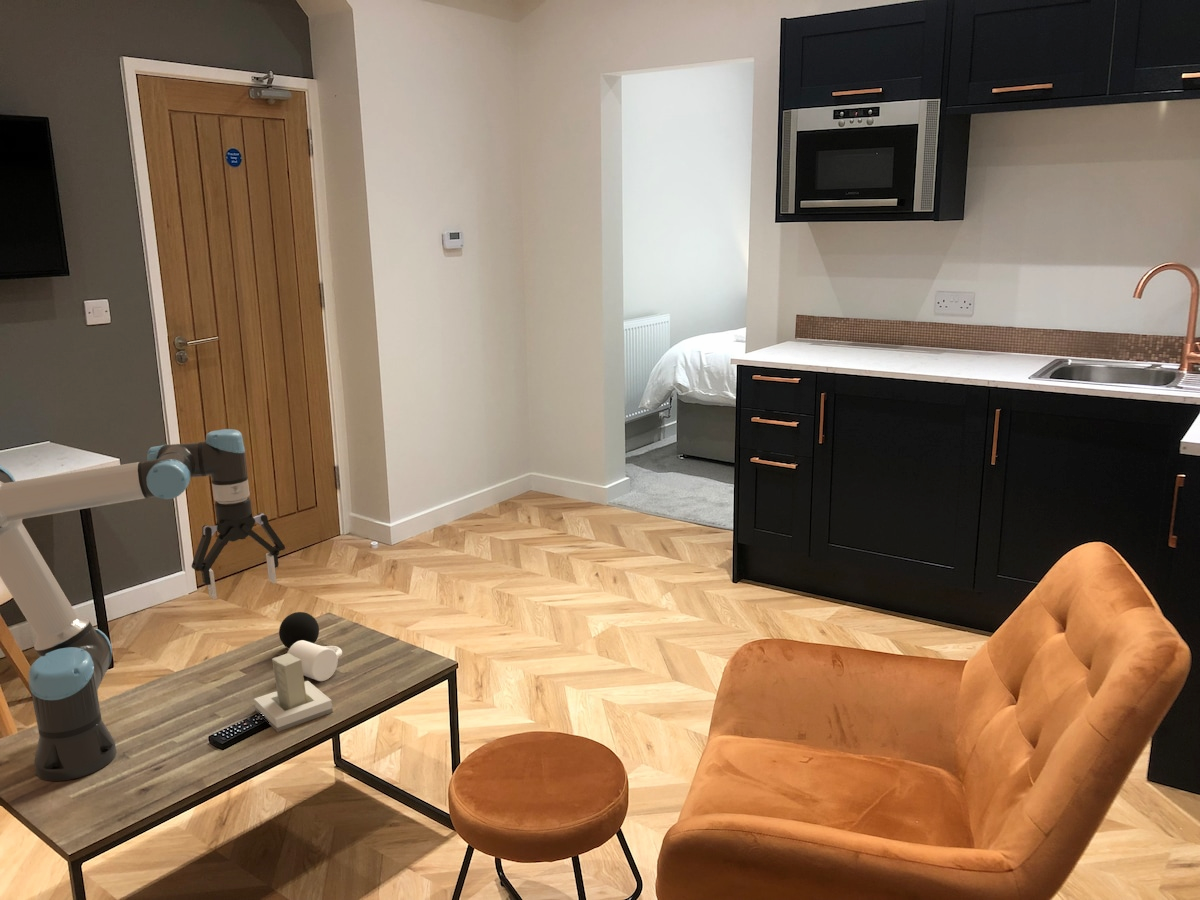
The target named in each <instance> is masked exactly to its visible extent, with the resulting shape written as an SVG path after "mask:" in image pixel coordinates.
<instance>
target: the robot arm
mask: <svg viewBox="0 0 1200 900" xmlns="http://www.w3.org/2000/svg"><path fill="white" fill-rule="evenodd" d="M245 448H246V447H245V445H244V439H243V434H242V432H241V431H239V430H238V429H234V428H233V429H231V428H224V429H218V430H212V431H210V432H207V433H206V435H205V440H204V441H202V442H201V441H199V442H189V443H188V442H187V443H174V444H173V443H172V444H168V443H167V444H162V445H158V446H157V445H156V446H151V447H150V448H149V449H148V450H147V455H146V458H147V459H146V460H144V461H137V462H130V463H125V464H124V463H123V464H117V465H113V466H105V467H99V468H93V469H87V470H86V469H85V470H79V471H73V472H68V473H61V474H54V475H47V476H41V477H35V478H34V477H33V478H30V479H22V480H17V481H16V479H15V477H14V475H13V474H12V473H11V472H10V471H9V470H8V469H7V468H5V466H2V465H0V579H1V580H2V582H3V584H4V586H6V588H7V589H8V592H9V593H10V595H11V597H12V598H13V600H14V601H15V604H16V605H17V606H18V608H19V610H20V611H21V613H22V614H23V617H25V620H26V621H27V623H28V624H29V626H30V628H31V629H32V631H33V632H34V634H35V636H36V641H35V643H34V646H33V648H34V650H35V651H36V653H37V654H38V656H39V657H38V658H36V660H35V661H34V662H33V663H32V664H31V666H30V667H29V670H28V687H29V690H30V693H31V698H32V699H31V700H32V703H33V709H34V714H35V719H36V720H35V721H36V724H37V730H38V735H39V736H38V742H37V746H36V751H35V757H34V769H35V774H36V776H37V777H39V779H42V780H45V781H49V782H60V781H61V782H62V781H69V780H73V779H74V780H75V779H80V778H82V777H86V776H88V775H91V774H93V773H95V772H97V771H99V770H101V769H102V768H104V767H106V766H107V765H109V763H111V762H112V761H113V760H114V759H115V757H116V755H117V747H116V746H117V745H116V741H115V738H114V737H113V735H112V733H110V731H109V729H108V727H107V726H106V724H105V723H104V721H103V719H102V713H101V707H100V701H99V700H100V699H99V694H98V693H99V692H98V690H99V687H100V685H101V684H102V681H103V679H104V677H105V676H106V673H107V671H108V670H109V668H110V666H111V662H112V655H113V650H112V649H113V648H112V647H113V646H112V644H111V642H110V639H109V637H108V636H107V635H106V634H105V633H104V632H103V631H102V630H100V629H98V628H95V627H94V626H93V624H92V623H91V621H90V620H89V618H87V617H83V616H78V614H77V613H76V611H75V609H74V608H73V606H72V604H71V603H70V600H68V597H67V595H65V593H64V591H63V589H62V588H61V586H60V584H59V582H58V581H57V579H56V577H55V576H54V575H53V572H52V570H51V569H50V566H48V564H47V562H46V560H45V559H44V557H43V555H42V554H41V552H40V551H39V549H38V548H37V545H36V544H35V542H34V540H33V539H32V537H31V535H30V534H29V532H28V530H27V528H26V527H25V525H24V524H23V520H24V519H30V518H36V517H42V516H47V515H48V516H49V515H55V514H60V513H65V512H71V511H72V512H73V511H77V510H83V509H90V508H95V507H103V506H107V505H115V504H119V503H127V502H131V501H136V500H137V501H138V500H144V499H149V498H159V499H163V500H171V499H175V498H177V497H179V496H180V495H181V494H182V493H184V492H185V491H186V489H187V488H188V486H189V485H190V481H191V478H200V477H210V478H211V485H212V493H213V494H212V495H213V500H214V501H215V502H214V511H215V518H216V523H215V525H206V524H204V525H203V526H202V527H201V529H202V530H201V532H202V533H201V534H202V535H201V538H200V541H199V544H198V546H197V548H196V553H195V554H194V557H193V561H192V563H191V568H192V569H193V570H194V571H196V572H201V576H202V577H201V578H202V583H203V585H205V586H207V588H208V596H209V597H210V598H212V600H215V599H218V596H217V587H216V582H215V574H214V570H213V569H212V566H213V565H214V563H215V562H216V560H217V559H218V557H219V556H220V554H221V552H222V551H223V550H224V548H225V547H226V546H227V544H228V543H229V542H236V541H238V540H245V539H246V538H247V537H248V536H249V537H250V538H251V539H252V540H254V541H255V542H256V543H258V544H259V545H260V546H261V547H263V549H265V550H266V551H268V552H267V553H265V557H266V559H265V560H266V566H267V575H268V581H269V582H271V583H272V584H276V583H278V582H277V575H276V568H278V567H279V558H278V556H279V554H280V552H281V551H285V549H286V546H285V544H284V543H283V541H282V540H281V538H280V537H279V535H278V534H277V533H276V532H275V530H274V529H273V526H271V524H270V522H269V518H268V516H267V515H266V514H264V513H263V512H259V513H258V514H257V515H256V516H253V509H252V501H251V498H250V495H251V493H250V487H249V484H250V483H249V476H248V468H247V458H246V457H247V456H246V449H245ZM256 523H257V524H258V525H260V527H261V528H262V529H263V530H264V533H265V534H266V535H267V536H268V537H269V539H270V541H271V542H272V543H273V544H274V546H272V545H271V544H270V543H269V542H268V541H266V540H265V539H264V538H262V537H261V536H260V535H259V534H257V532H255V531H254V530H253V527H254V526H255V524H256ZM216 532H217V533H219V534H218V536H217V537H216V539H215V542H214V544H213V545H212V546H211V548H210V550H209V551H208V549H209V547H210V544H211V541H212V536H214V535H215V533H216Z"/></svg>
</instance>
